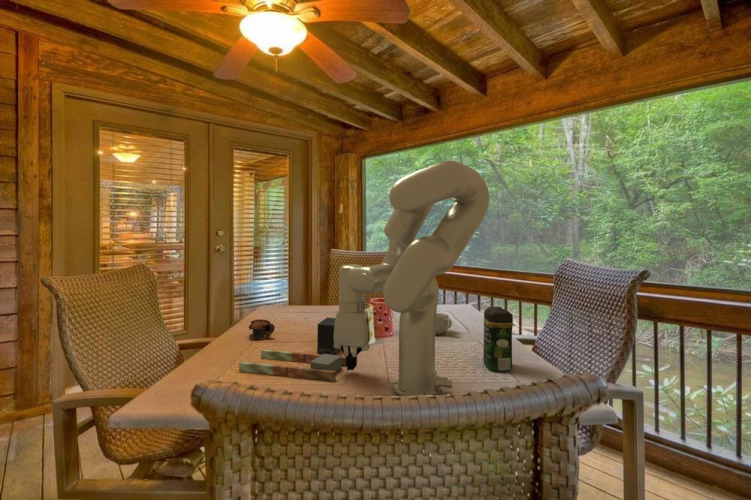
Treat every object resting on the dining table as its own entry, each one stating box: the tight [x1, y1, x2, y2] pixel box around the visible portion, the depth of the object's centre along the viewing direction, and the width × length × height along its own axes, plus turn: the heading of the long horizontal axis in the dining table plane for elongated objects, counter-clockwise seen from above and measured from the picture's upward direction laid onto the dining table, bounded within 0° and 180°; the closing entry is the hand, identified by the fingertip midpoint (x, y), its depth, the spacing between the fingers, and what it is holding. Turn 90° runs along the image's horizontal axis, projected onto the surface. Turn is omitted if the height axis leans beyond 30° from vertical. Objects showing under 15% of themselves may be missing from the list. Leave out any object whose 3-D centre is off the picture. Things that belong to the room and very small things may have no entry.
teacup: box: [435, 312, 453, 336], centre depth 155 cm, size 14×11×8 cm
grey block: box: [309, 354, 342, 373], centre depth 113 cm, size 6×8×4 cm
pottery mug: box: [248, 319, 276, 341], centre depth 148 cm, size 12×10×8 cm
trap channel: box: [238, 349, 347, 382], centre depth 115 cm, size 30×13×2 cm, turn 76°
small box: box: [316, 317, 340, 355], centre depth 133 cm, size 11×6×10 cm, turn 168°
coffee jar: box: [482, 306, 514, 373], centre depth 116 cm, size 10×8×19 cm
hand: (351, 368), depth 111 cm, fingers closed
